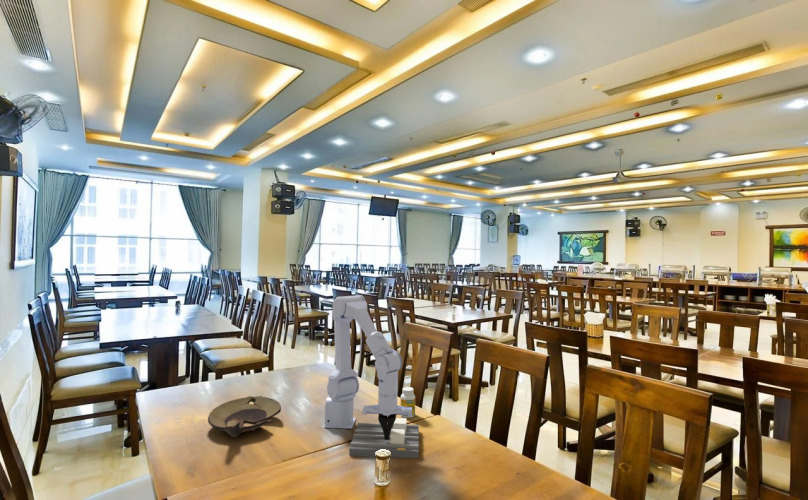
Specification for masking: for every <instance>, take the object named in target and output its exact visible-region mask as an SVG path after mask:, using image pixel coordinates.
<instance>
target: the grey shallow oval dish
mask: <svg viewBox="0 0 808 500" xmlns="http://www.w3.org/2000/svg"><path fill="white" fill-rule="evenodd" d="M251 402H252V403H251ZM281 406H282V405H281V404H280V402H279V401H277V399H273V398H271V397H270V398H269V397H265V396H262V395H257V396H251V395H250V396H246V397H241V398H237V399H233V400H229V401H226V402H223V403H222V404H220V405H218V406H216V407H214V408H213V409H212V411H210V413H209V415H208V416H207V423H208V424H209V426H211V427H212V428H214V429H216V430H218V431H221V432H222V431H223V432H226V433H227V434H228V435H229V436H231V437H232V438H236V437H238V436H240V434H242V433H245V432H249V431H252V430H255V429H258V428H260V427H263V426H265V425H266V424H267V425H268V423H270V422H272V419H271V418H273V417H274V416H277V415H278V414H279V413H281V411H282V407H281ZM244 423H251V424H252V425H248V426H246V425H244Z"/></svg>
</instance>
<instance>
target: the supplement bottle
mask: <svg viewBox="0 0 808 500" xmlns="http://www.w3.org/2000/svg"><path fill="white" fill-rule="evenodd" d="M414 390H415V389H414V388H413V387H410V386H404V387H402V391H401V392H402V394H400V406H404V407H412V416H408V415H400V416H401V418H407V419H410V418H414V417H415V416H416V395H415V393H414Z"/></svg>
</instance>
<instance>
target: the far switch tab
mask: <svg viewBox="0 0 808 500" xmlns="http://www.w3.org/2000/svg"><path fill="white" fill-rule="evenodd" d="M407 419H408V418H404V417H396V420H395V422H394V424H393V429H404V430H405V432H406V425H407V422H408V421H407Z"/></svg>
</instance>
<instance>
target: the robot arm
mask: <svg viewBox="0 0 808 500" xmlns="http://www.w3.org/2000/svg"><path fill="white" fill-rule="evenodd" d="M367 309H368V303H367V301H366V299H365V297H364V296H363V295H362V294H356V295H347V296H346V295H345V296H337V297H335V299H334V300H333V301H332V320H333V322H334V324H333V327H334V358H335V359H334V361H335V362H334V363H335V368H334V370H333V371H332V372H331V373H330V374H329V375H328V381H327V385H326V390H327V395H328V396H327V397H326V399H325V405H324V424H323V427H324V428H325V429H326V428H327V429H350V430H351V429H353V427H354V425H355V422H356V419H357V418H356V417H354V405H355V404H354V403H355V402H354V401H355V400H354V399H355V397H356V394H357V393H358V392H359V389H360V381H359V379H358V372H357V371H355V370H354V369H352V356H351V355H352V352H351V351H352V350H351V348H352V347H351V325H350V324H351V322H352V321H353V320H355V321H356V323H357V324H358V326H359V327H360V329H361V330H362V332H363V333H364V334H365V336H366V341H365V342H366V345H367V347H368V349H369V350H370V352H371V354H372V355H373V357H374V359H375V361H374V367H375V370H376V376H377V379H378V397H377V399H378V400H377V401H378V403H377V404H373V405H364V406H363V407H362V415H365V416H366V415H377V416H378V418H377V420H378V423H380V424H381V427H382V429H383V433H384V439H385V440H389V436H390V432H391V429H392V426H393V424H394V422H395V420H396V418H397V416H401V415H408V416H412V407H404V406H401V405H398V389H399V387H398V386H399V383H398V382H399V370H401V369H402V368H403V367H402V366H403V359H402V356H401V354H400V352H399V351H397V350H395V349H394V348H392V347H391V345H390V344H389V343H388V340H387V339H386V337H385V335H384V333H382V332H381V331H377V329H376V326H375V325H374V323H373V321H372V319H371V317H370V314H369V312H368V310H367Z"/></svg>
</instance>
